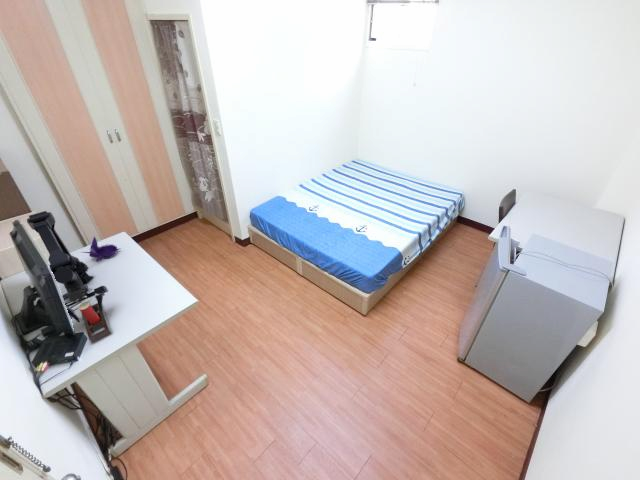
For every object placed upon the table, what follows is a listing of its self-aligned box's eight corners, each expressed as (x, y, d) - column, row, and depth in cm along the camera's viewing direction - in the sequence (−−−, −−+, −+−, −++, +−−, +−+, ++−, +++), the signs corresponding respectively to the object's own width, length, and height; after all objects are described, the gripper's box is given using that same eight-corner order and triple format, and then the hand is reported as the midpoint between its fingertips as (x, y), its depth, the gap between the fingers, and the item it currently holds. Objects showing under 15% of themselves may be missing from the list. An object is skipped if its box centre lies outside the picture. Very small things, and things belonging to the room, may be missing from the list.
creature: (85, 257, 162) (74, 240, 155) (122, 246, 170) (113, 230, 162) (85, 266, 157) (74, 249, 149) (123, 255, 164) (114, 238, 157)
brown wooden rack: (83, 314, 132) (80, 310, 130) (101, 306, 136) (99, 302, 134) (92, 343, 121) (89, 339, 119) (111, 333, 125) (108, 329, 123)
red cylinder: (90, 325, 128) (76, 307, 120) (98, 319, 130) (85, 301, 123) (96, 328, 127) (82, 310, 119) (104, 321, 129) (91, 304, 121)
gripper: (39, 294, 111) (59, 330, 112) (95, 272, 121) (113, 304, 122) (48, 296, 121) (66, 328, 121) (99, 275, 131) (116, 305, 131)
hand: (91, 316), depth 124 cm, fingers open, 8 cm apart
